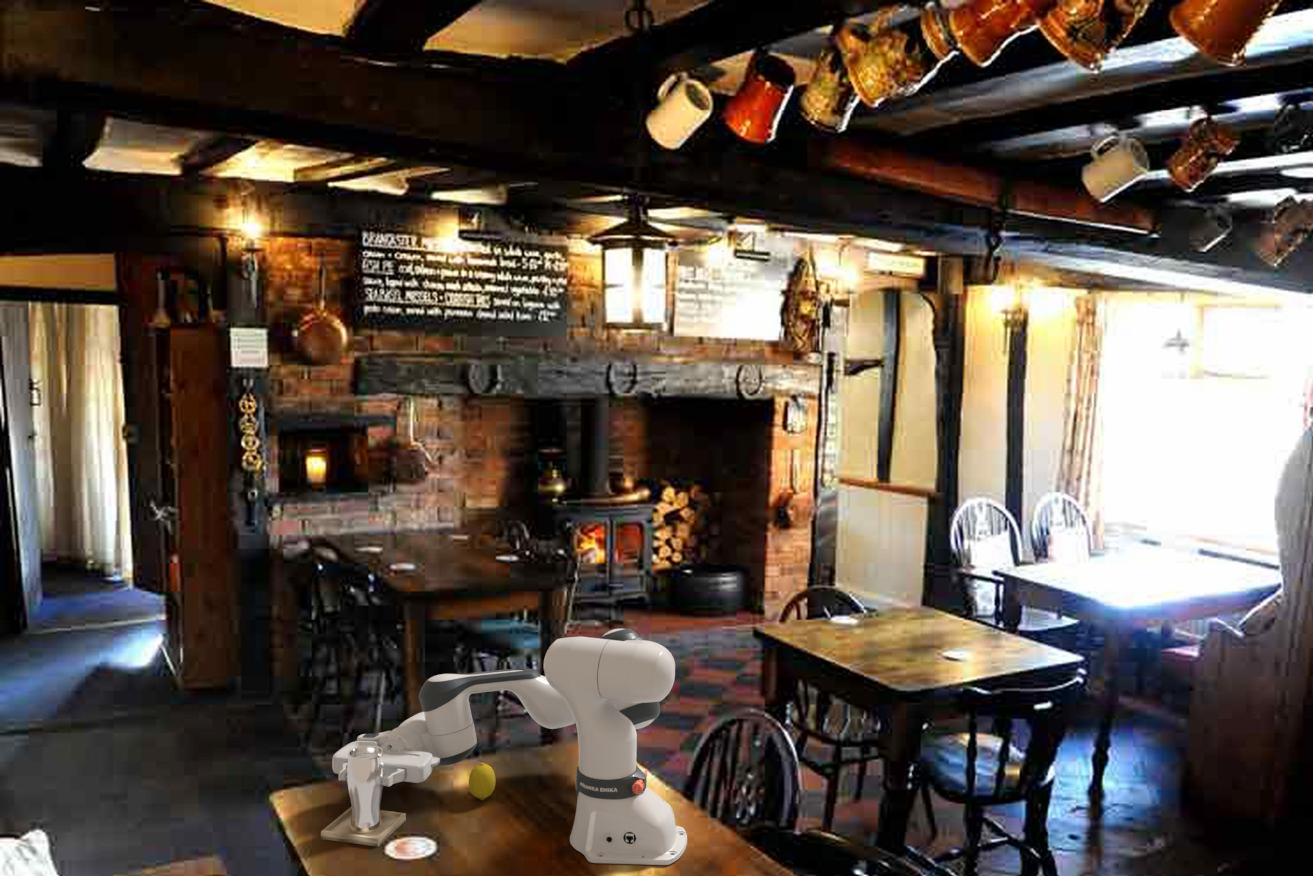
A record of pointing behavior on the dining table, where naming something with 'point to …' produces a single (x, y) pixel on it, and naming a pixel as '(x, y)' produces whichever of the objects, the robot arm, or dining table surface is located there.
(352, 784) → the beer glass
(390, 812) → the tray
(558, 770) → the dining table surface
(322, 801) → the dining table surface
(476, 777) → the lemon
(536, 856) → the dining table surface
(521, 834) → the dining table surface
